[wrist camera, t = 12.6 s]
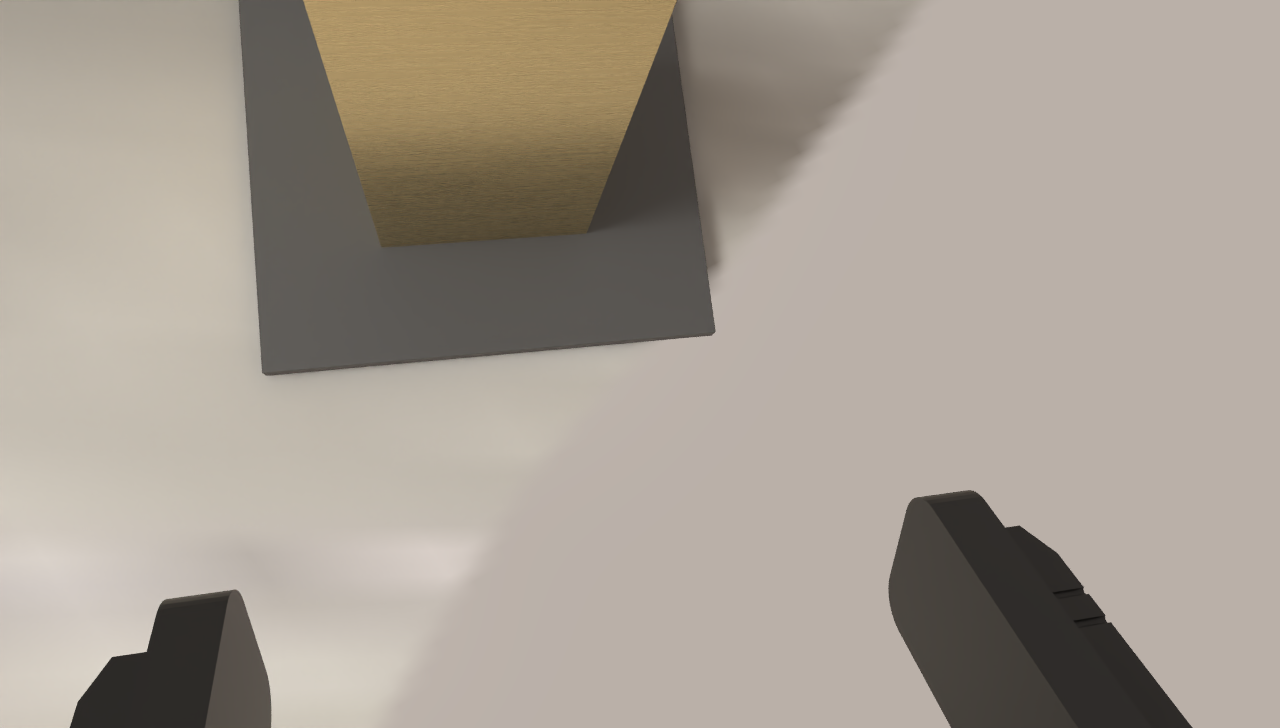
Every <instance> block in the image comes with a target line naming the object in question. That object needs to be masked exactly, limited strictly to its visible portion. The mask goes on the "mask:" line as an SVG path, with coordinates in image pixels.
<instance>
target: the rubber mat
mask: <svg viewBox="0 0 1280 728" xmlns="http://www.w3.org/2000/svg"><path fill="white" fill-rule="evenodd" d="M239 13H240V29H241V45H242V61H243V77H244V92H245V108H246V124H247V140H248V155H249V171H250V187H251V203H252V218H253V234H254V250H255V266H256V282H257V297H258V313H259V329H260V345H261V360H262V373H264V374H265V375H277V374H289V373H300V372H311V371H322V370H333V369H344V368H355V367H366V366H377V365H388V364H399V363H411V362H422V361H433V360H444V359H455V358H466V357H477V356H488V355H499V354H510V353H521V352H533V351H544V350H555V349H566V348H577V347H588V346H599V345H610V344H621V343H632V342H643V341H654V340H666V339H676V338H688V337H699V336H710V335H712V334H713V333H715V325H714V318H713V310H712V303H711V296H710V288H709V281H708V274H707V267H706V259H705V252H704V245H703V238H702V230H701V223H700V216H699V209H698V201H697V194H696V187H695V180H694V172H693V165H692V158H691V150H690V143H689V136H688V129H687V121H686V114H685V107H684V100H683V92H682V85H681V78H680V71H679V63H678V56H677V49H676V42H675V34H674V27H673V20H672V14H671V17H670V19H669V22H668V25H667V27H666V30H665V32H664V35H663V37H662V40H661V43H660V45H659V48H658V50H657V53H656V55H655V58H654V61H653V63H652V66H651V68H650V71H649V73H648V76H647V79H646V81H645V84H644V86H643V89H642V92H641V94H640V97H639V99H638V102H637V104H636V107H635V110H634V112H633V115H632V117H631V120H630V122H629V125H628V128H627V130H626V133H625V135H624V138H623V140H622V143H621V146H620V148H619V151H618V153H617V156H616V158H615V161H614V164H613V166H612V169H611V171H610V174H609V176H608V179H607V182H606V184H605V187H604V189H603V192H602V194H601V197H600V200H599V202H598V205H597V207H596V210H595V213H594V215H593V218H592V220H591V223H590V225H589V228H588V231H587V233H586V234H572V235H557V236H543V237H528V238H514V239H499V240H484V241H470V242H455V243H441V244H426V245H412V246H397V247H382V248H381V245H380V242H379V238H378V235H377V232H376V229H375V226H374V223H373V220H372V216H371V213H370V210H369V207H368V204H367V201H366V197H365V194H364V191H363V188H362V185H361V182H360V178H359V175H358V172H357V169H356V166H355V163H354V159H353V156H352V153H351V150H350V147H349V144H348V140H347V137H346V134H345V131H344V128H343V125H342V121H341V118H340V115H339V112H338V109H337V106H336V102H335V99H334V96H333V93H332V90H331V87H330V83H329V80H328V77H327V74H326V71H325V68H324V64H323V61H322V58H321V55H320V52H319V49H318V46H317V42H316V39H315V36H314V33H313V30H312V27H311V23H310V20H309V17H308V14H307V11H306V8H305V4H304V1H303V0H239Z"/></svg>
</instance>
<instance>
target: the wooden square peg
mask: <svg viewBox="0 0 1280 728" xmlns="http://www.w3.org/2000/svg"><path fill="white" fill-rule="evenodd" d="M303 1H304V4H305V8H306V11H307V14H308V17H309V20H310V23H311V27H312V30H313V33H314V36H315V39H316V42H317V46H318V49H319V52H320V55H321V58H322V61H323V64H324V68H325V71H326V74H327V77H328V80H329V83H330V87H331V90H332V93H333V96H334V99H335V102H336V106H337V109H338V112H339V115H340V118H341V121H342V125H343V128H344V131H345V134H346V137H347V140H348V144H349V147H350V150H351V153H352V156H353V159H354V163H355V166H356V169H357V172H358V175H359V178H360V182H361V185H362V188H363V191H364V194H365V197H366V201H367V204H368V207H369V210H370V213H371V216H372V220H373V223H374V226H375V229H376V232H377V235H378V238H379V242H380V245H381V248H382V247H397V246H412V245H426V244H441V243H455V242H470V241H484V240H499V239H514V238H528V237H543V236H557V235H572V234H586V233H587V231H588V228H589V225H590V223H591V220H592V218H593V215H594V213H595V210H596V207H597V205H598V202H599V200H600V197H601V194H602V192H603V189H604V187H605V184H606V182H607V179H608V176H609V174H610V171H611V169H612V166H613V164H614V161H615V158H616V156H617V153H618V151H619V148H620V146H621V143H622V140H623V138H624V135H625V133H626V130H627V128H628V125H629V122H630V120H631V117H632V115H633V112H634V110H635V107H636V104H637V102H638V99H639V97H640V94H641V92H642V89H643V86H644V84H645V81H646V79H647V76H648V73H649V71H650V68H651V66H652V63H653V61H654V58H655V55H656V53H657V50H658V48H659V45H660V43H661V40H662V37H663V35H664V32H665V30H666V27H667V25H668V22H669V19H670V17H671V14H672V12H673V9H674V7H675V4H676V1H677V0H303Z"/></svg>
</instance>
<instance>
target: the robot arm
mask: <svg viewBox="0 0 1280 728" xmlns="http://www.w3.org/2000/svg"><path fill="white" fill-rule="evenodd" d="M1083 588H1084V587H1083V586H1082V585H1081V583H1080V582H1079V581H1078V579H1077V578H1076V577H1075V576H1074V574H1073V573H1072V572H1071V570H1070V569H1069V568H1068V567H1067V565H1066V564H1065V563H1064V561H1063V560H1062V559H1061V557H1060V556H1059V555H1058V554H1057V553H1056V552H1055V551H1054V550H1052V549H1051V548H1049V547H1048V546H1046V545H1045V544H1044V543H1042V542H1041V541H1040V540H1038V539H1037V538H1036V537H1034V536H1033V535H1031V534H1030V533H1028V532H1027V531H1026V530H1025V529H1023V528H1022V527H1021V526H1014V527H1007V528H1005V527H1004V526H1003V525H1002V523H1001V522H1000V520H999V519H998V518H997V516H996V515H995V514H994V512H993V511H992V510H991V508H990V507H989V505H988V504H987V503H986V502H985V500H984V499H983V498H982V497H981V496H980V495H979V494H978V493H976V492H974V491H971V490H968V491H960V492H953V493H946V494H939V495H931V496H924V497H917V498H914V499H912V501H911V502H910V503H909V505H908V507H907V510H906V514H905V518H904V522H903V527H902V530H901V534H900V539H899V542H898V546H897V550H896V554H895V559H894V562H893V566H892V570H891V574H890V579H889V601H890V606H891V611H892V615H893V617H894V621H895V623H896V626H897V628H898V630H899V632H900V634H901V636H902V637H903V639H904V641H905V643H906V645H907V647H908V648H909V650H910V652H911V654H912V656H913V658H914V660H915V662H916V663H917V665H918V667H919V669H920V671H921V673H922V674H923V676H924V678H925V680H926V682H927V684H928V686H929V687H930V689H931V691H932V693H933V695H934V697H935V698H936V700H937V702H938V704H939V706H940V708H941V710H942V711H943V713H944V715H945V717H946V719H947V721H948V722H949V724H950V726H951V728H1192V727H1191V725H1190V724H1189V723H1188V722H1187V720H1186V719H1185V718H1184V716H1183V715H1182V714H1181V713H1180V711H1179V710H1178V709H1177V707H1176V706H1175V705H1174V703H1173V702H1172V701H1171V700H1170V698H1169V697H1168V696H1167V694H1166V693H1165V692H1164V691H1163V689H1162V688H1161V687H1160V685H1159V684H1158V683H1157V682H1156V680H1155V679H1154V678H1153V676H1152V675H1151V674H1150V673H1149V671H1148V670H1147V669H1146V668H1145V666H1144V665H1143V663H1142V662H1141V661H1140V660H1139V658H1138V657H1137V656H1136V654H1135V653H1134V652H1133V651H1132V649H1131V648H1130V647H1129V645H1128V644H1127V643H1126V642H1125V640H1124V639H1123V638H1122V636H1121V635H1120V634H1119V632H1118V631H1117V630H1116V628H1115V627H1114V626H1113V625H1112V623H1107V622H1106V620H1105V614H1104V613H1103V612H1102V611H1101V609H1100V608H1099V607H1098V605H1097V604H1096V603H1095V601H1094V600H1093V599H1092V598H1091V596H1090V595H1089V594H1085V593H1084V590H1083ZM70 728H271V696H270V687H269V681H268V676H267V672H266V669H265V666H264V663H263V660H262V657H261V654H260V650H259V647H258V644H257V641H256V638H255V635H254V632H253V629H252V626H251V623H250V620H249V617H248V613H247V610H246V607H245V604H244V601H243V599H242V596H241V594H240V593H239V591H237V590H230V591H223V592H215V593H208V594H201V595H194V596H186V597H179V598H172V599H166V600H164V601H163V602H162V603H161V604H160V606H159V609H158V611H157V614H156V618H155V622H154V626H153V630H152V634H151V637H150V641H149V645H148V649H147V652H144V653H137V654H130V655H123V656H117V657H112V658H111V659H110V661H109V662H108V663H107V665H106V666H105V667H104V669H103V670H102V671H101V672H100V674H99V675H98V676H97V678H96V679H95V680H94V682H93V683H92V684H91V686H90V687H89V688H88V690H87V691H86V692H85V693H84V695H83V696H82V697H81V699H80V700H79V701H78V703H77V707H76V710H75V713H74V716H73V719H72V723H71V726H70Z"/></svg>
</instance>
